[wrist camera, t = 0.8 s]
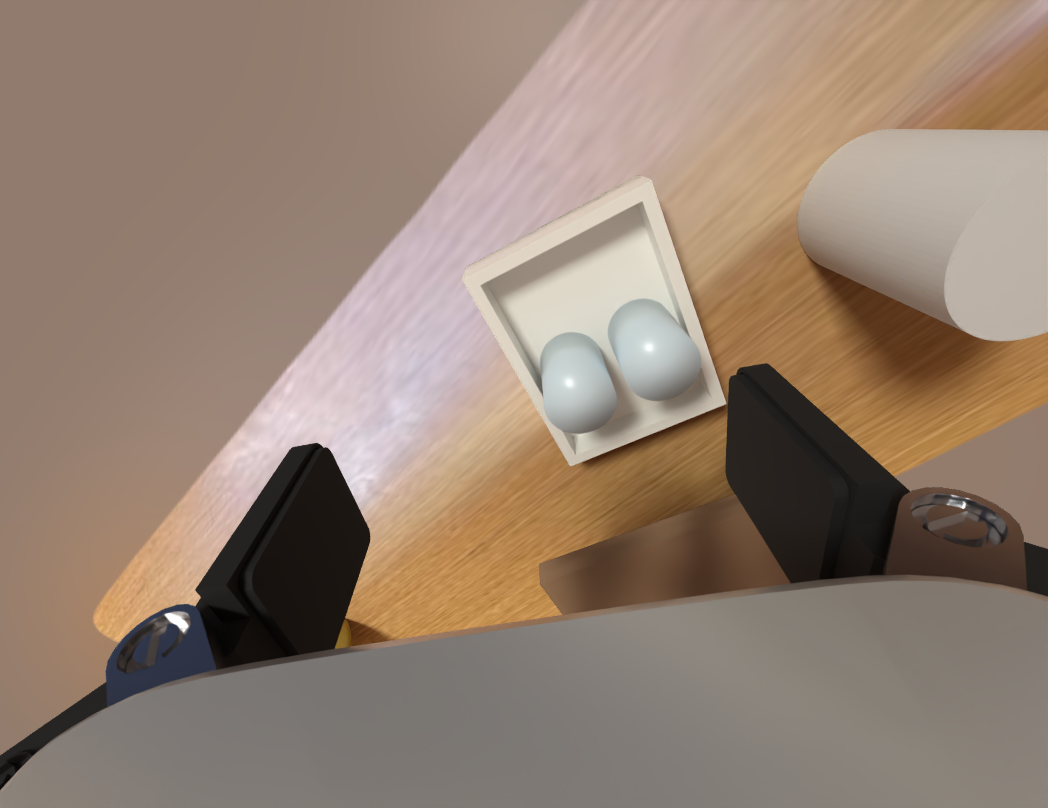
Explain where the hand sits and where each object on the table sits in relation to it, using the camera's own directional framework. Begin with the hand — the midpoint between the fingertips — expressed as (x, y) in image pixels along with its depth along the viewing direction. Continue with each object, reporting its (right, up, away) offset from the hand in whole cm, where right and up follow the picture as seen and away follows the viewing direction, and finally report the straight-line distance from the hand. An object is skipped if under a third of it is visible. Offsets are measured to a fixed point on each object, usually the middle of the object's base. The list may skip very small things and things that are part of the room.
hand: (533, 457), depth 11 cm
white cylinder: (+21, +14, +18) cm, 31 cm away
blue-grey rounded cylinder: (+3, +4, +23) cm, 23 cm away
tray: (+5, +7, +22) cm, 24 cm away
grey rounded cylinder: (+8, +6, +21) cm, 24 cm away
